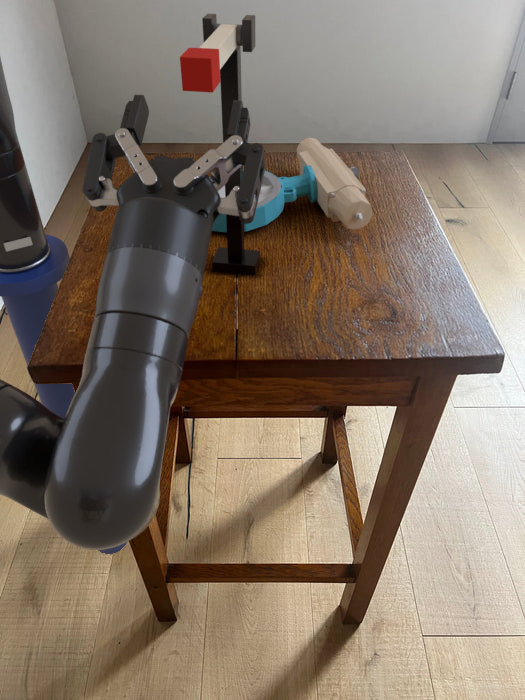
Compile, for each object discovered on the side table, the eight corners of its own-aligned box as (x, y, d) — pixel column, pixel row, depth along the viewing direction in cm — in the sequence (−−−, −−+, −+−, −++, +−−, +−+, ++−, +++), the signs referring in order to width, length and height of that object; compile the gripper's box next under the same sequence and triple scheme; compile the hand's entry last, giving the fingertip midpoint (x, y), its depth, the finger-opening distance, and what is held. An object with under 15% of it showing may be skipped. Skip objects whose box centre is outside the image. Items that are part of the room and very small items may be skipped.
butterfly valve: (191, 279, 81) (389, 236, 84) (181, 237, 76) (391, 193, 79) (173, 196, 101) (333, 163, 103) (164, 159, 96) (332, 126, 99)
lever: (182, 91, 50) (179, 56, 48) (219, 46, 62) (218, 17, 60) (213, 92, 50) (211, 58, 48) (244, 47, 61) (243, 18, 60)
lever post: (212, 271, 78) (196, 19, 58) (218, 256, 81) (205, 11, 61) (255, 275, 77) (254, 22, 57) (259, 259, 80) (260, 13, 60)
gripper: (239, 259, 39) (269, 74, 44) (44, 242, 40) (95, 65, 45) (249, 303, 46) (274, 138, 51) (83, 287, 48) (123, 129, 52)
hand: (190, 104), depth 48 cm, fingers open, 8 cm apart
